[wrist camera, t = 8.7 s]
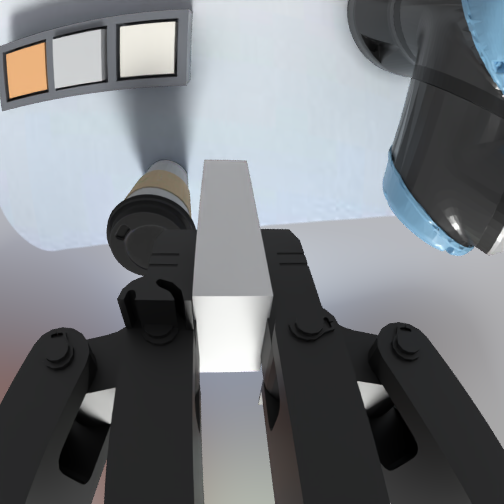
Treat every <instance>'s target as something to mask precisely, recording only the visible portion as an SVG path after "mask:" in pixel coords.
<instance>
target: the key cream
mask: <svg viewBox="0 0 504 504" xmlns="http://www.w3.org/2000/svg"><path fill="white" fill-rule="evenodd" d="M177 26H178V22H161V23H149V24H139V25H131V26H123V27H120V77H129V76H140V75H153V74H170V73H175V72H176V56H177Z"/></svg>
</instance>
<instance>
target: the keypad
mask: <svg viewBox="0 0 504 504" xmlns="http://www.w3.org/2000/svg"><path fill="white" fill-rule="evenodd" d="M192 14H193V12H192V11H191V10H190V9H176V10H161V11H150V12H140V13H132V14H124V15H118V16H111V17H105V18H100V19H94V20H89V21H84V22H80V23H75V24H71V25H67V26H63V27H59V28H55V29H51V30H48V31H44V32H41V33H37V34H34V35H31V36H28V37H25V38H22V39H19V40H16V41H13V42H10V43H7V44H5V45H2V46H0V99H1V107H2V111H5V110H9V109H13V108H17V107H21V106H25V105H30V104H34V103H39V102H43V101H48V100H53V99H59V98H64V97H70V96H76V95H82V94H89V93H96V92H104V91H112V90H122V89H132V88H144V87H160V86H183V85H187V84H188V82H189V81H190V60H191V33H192ZM161 22H178V26H177V56H176V72H175V73H170V74H153V75H140V76H129V77H120V27H123V26H131V25H139V24H149V23H161ZM100 29H107V72H108V78H107V79H105V80H103V81H97V82H90V83H84V84H78V85H72V86H66V87H61V88H56V89H55V82H54V67H53V39H57V38H61V37H65V36H70V35H74V34H79V33H84V32H89V31H94V30H100ZM44 42H46V57H47V75H48V88H49V89H46V90H42V91H37V92H33V93H29V94H25V95H21V96H17V97H13V98H10V96H9V87H8V75H7V60H6V54H9V53H12V52H15V51H18V50H21V49H24V48H27V47H31V46H34V45H37V44H41V43H44Z"/></svg>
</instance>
